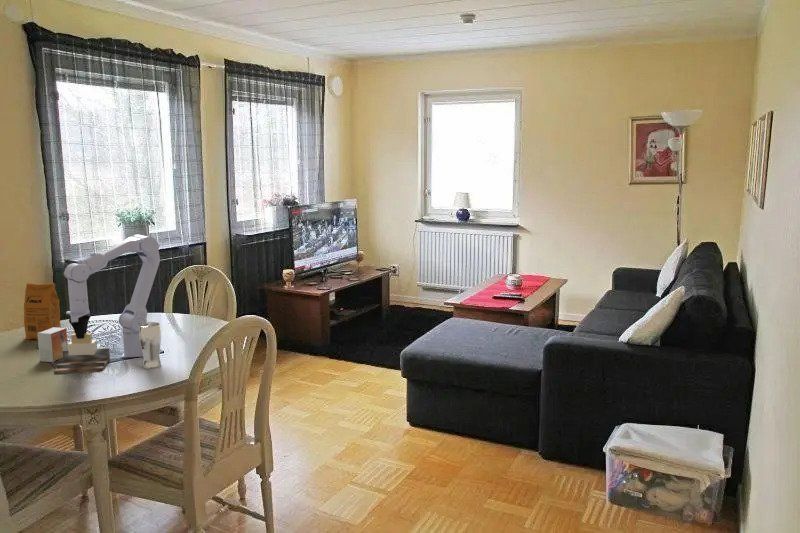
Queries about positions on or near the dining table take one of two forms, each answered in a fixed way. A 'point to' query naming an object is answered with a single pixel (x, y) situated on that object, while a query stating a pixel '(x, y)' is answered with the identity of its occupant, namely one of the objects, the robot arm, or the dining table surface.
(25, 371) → the dining table surface
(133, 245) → the robot arm
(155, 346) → the beer glass
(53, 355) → the small box
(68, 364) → the grey brown open tray
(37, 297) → the coffee package
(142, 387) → the dining table surface
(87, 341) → the large cream box
